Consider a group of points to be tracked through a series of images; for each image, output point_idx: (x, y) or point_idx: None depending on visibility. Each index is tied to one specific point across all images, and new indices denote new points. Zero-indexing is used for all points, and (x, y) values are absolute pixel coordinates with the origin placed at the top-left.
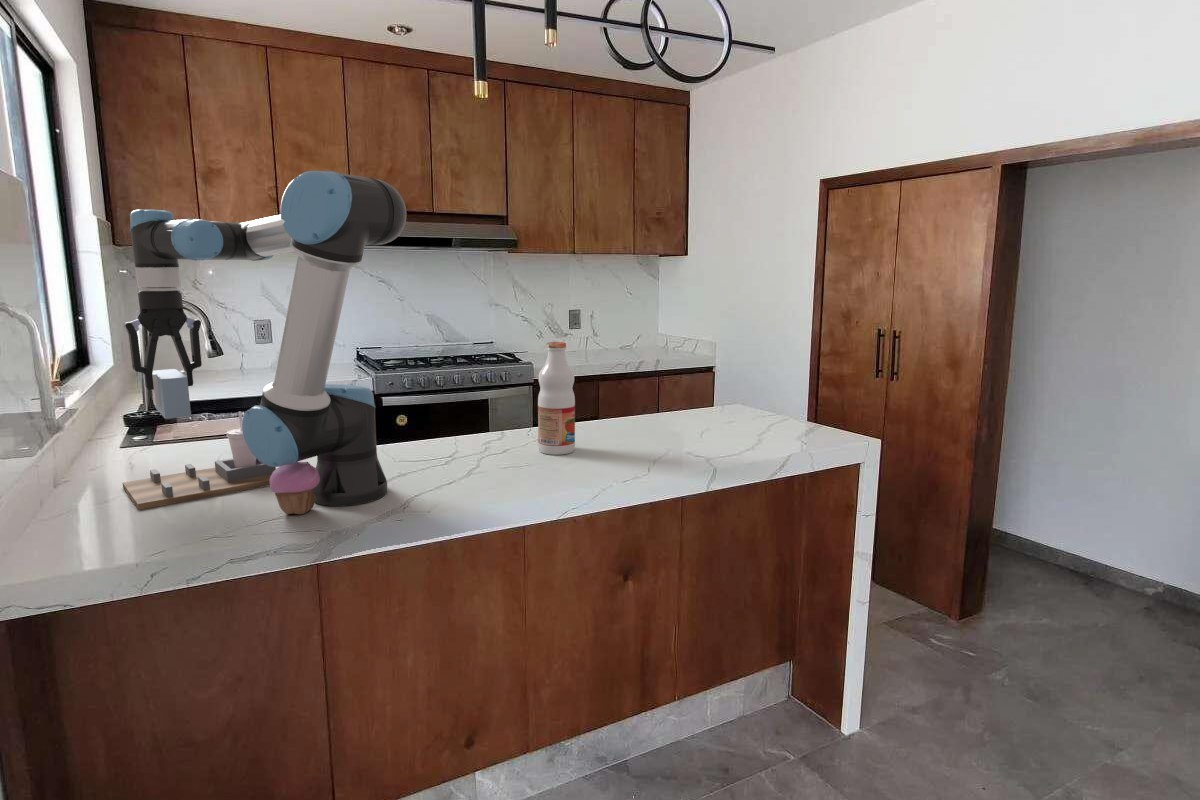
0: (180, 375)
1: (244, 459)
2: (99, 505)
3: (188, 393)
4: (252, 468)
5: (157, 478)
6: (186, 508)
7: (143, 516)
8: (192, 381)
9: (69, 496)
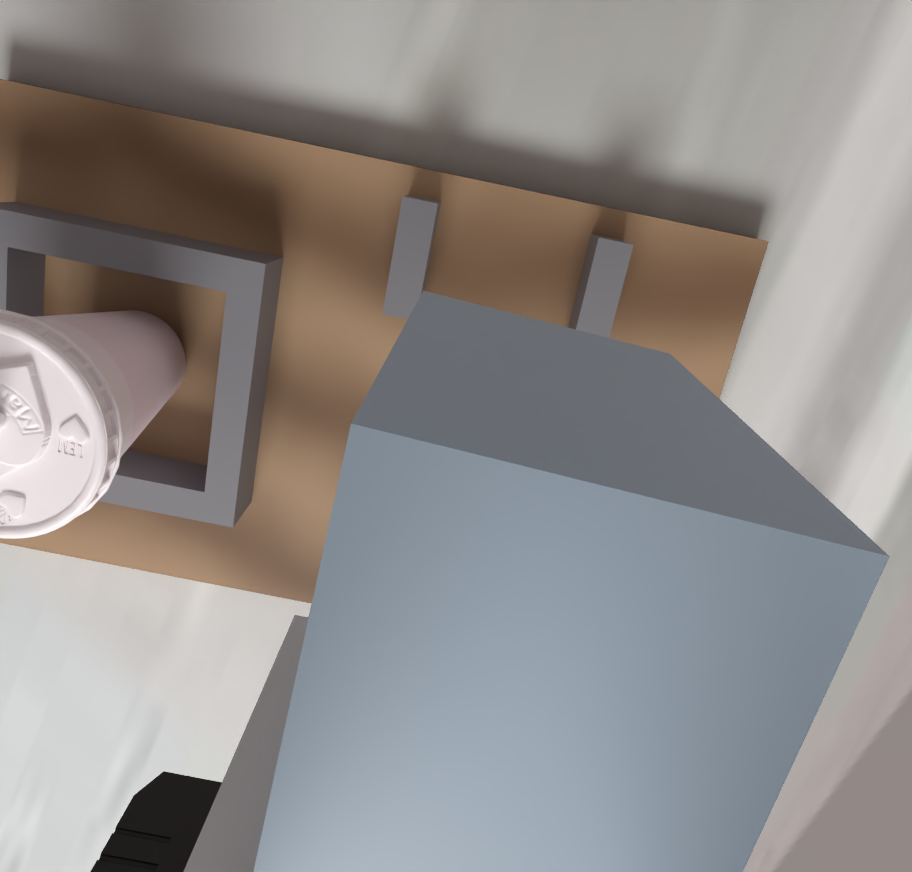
0: (357, 758)
1: (116, 321)
2: (823, 464)
3: (401, 343)
4: (119, 231)
5: None
6: (599, 57)
7: (796, 104)
8: (129, 821)
9: (828, 697)
